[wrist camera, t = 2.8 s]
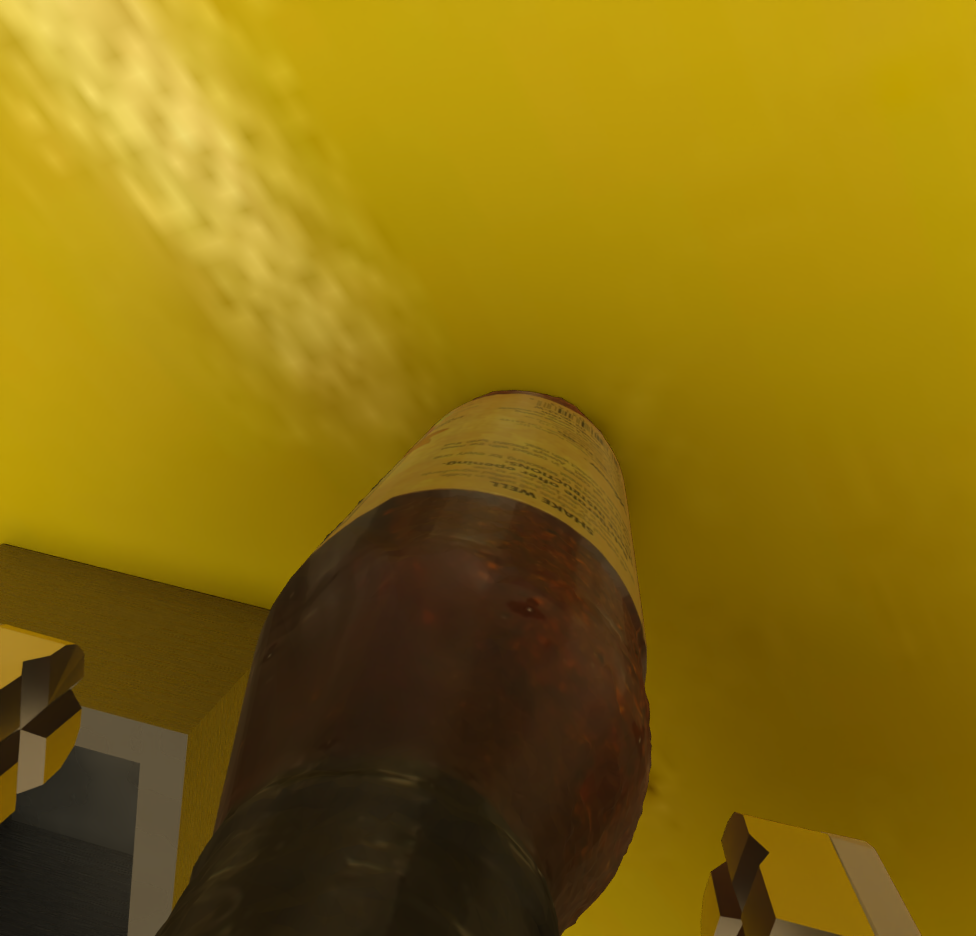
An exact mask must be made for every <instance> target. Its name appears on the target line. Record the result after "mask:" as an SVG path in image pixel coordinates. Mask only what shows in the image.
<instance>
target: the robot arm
mask: <svg viewBox="0 0 976 936" xmlns="http://www.w3.org/2000/svg"><path fill="white" fill-rule="evenodd" d="M84 655H85V653H84V652H83V651H82V649H81V648H80V647H79V646H78V645H77V644H75V643H71V642H68V641H64V640H61V639H57V638H53V637H50V636H46V635H43V634H39V633H35V632H32V631H28V630H25V629H21V628H17V627H14V626H10V625H7V624H5V625H3V624H1V623H0V824H1V823H2V822H3V821H4V820H5V819H6V818H7V817H8V816H9V815H10V814H12V813H13V812H14V811H15V808H16V799H17V794H18V793H21V792H24V791H27V790H29V789H32V788H35V787H38V786H41V785H43V784H44V783H45V782H46V781H48V780H49V779H50V778H51V777H52V776H53V775H54V774H55V773H56V772H57V771H58V770H59V769H60V768H61V766H62V765H63V763H64V762H65V760H66V758H67V757H68V755H69V753H70V752H71V750H72V749H73V747H74V745H75V742H76V739H77V735H78V732H79V729H80V724H81V712H82V708H81V706H80V704H79V702H78V701H77V699H76V697H75V695H74V693H73V691H72V690H71V689H72V688H73V687H74V686H75V685H76V684H77V683H78V682H79V681H80V680H81V679H82V678H83V677H84ZM721 842H722V846H723V850H724V854H725V858H726V862H724V863H723V864H721V865H720V866H718V867H717V868H716V869H714V870H713V871H711V872H710V876H709V879H708V882H707V886H706V889H705V893H704V896H703V905H702V913H701V936H921V934H920V932H919V930H918V928H917V926H916V925H915V923H914V921H913V919H912V917H911V915H910V913H909V912H908V910H907V908H906V906H905V904H904V902H903V900H902V899H901V897H900V895H899V893H898V891H897V889H896V887H895V886H894V884H893V882H892V880H891V878H890V876H889V874H888V873H887V871H886V869H885V867H884V865H883V863H882V861H881V860H880V858H879V856H878V854H877V852H876V850H875V849H874V848H873V847H872V846H871V845H869V844H868V843H867V842H866V841H862V840H858V839H853V838H849V837H844V836H839V835H835V834H830V833H826V832H817V831H813V830H809V829H804V828H800V827H796V826H792V825H788V824H783V823H779V822H775V821H771V820H766V819H762V818H758V817H754V816H750V815H745V814H741V813H737V812H734V813H733V815H732V816H731V818H730V819H729V821H728V822H727V825H726V828H725V831H724V834H723V837H722V839H721Z"/></svg>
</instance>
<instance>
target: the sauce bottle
mask: <svg viewBox="0 0 976 936" xmlns="http://www.w3.org/2000/svg"><path fill="white" fill-rule="evenodd" d="M646 671H647V645H646V637H645V629H644V621H643V613H642V606H641V599H640V592H639V585H638V577H637V570H636V562H635V555H634V548H633V541H632V535H631V527H630V520H629V511H628V505H627V497H626V491H625V485H624V479H623V475H622V472H621V469H620V466H619V463H618V461H617V459H616V457H615V455H614V452H613V451H612V449H611V448H610V446H609V444H608V443H607V441H606V440H605V438H604V437H603V435H602V433H601V432H600V431H599V430H598V429H597V428H596V427H595V426H594V425H593V424H592V423H591V421H590V420H588V419H587V418H586V417H585V415H584V414H583V413H581V412H580V411H579V410H578V409H577V407H575V406H574V405H572V404H570V403H568V402H566V401H565V400H563V399H562V398H558V397H552V396H549V395H544V394H539V393H535V392H529V391H517V390H509V391H494V392H491V393H489V394H486V395H484V396H481V397H478V398H475V399H474V400H472V401H470V402H467V403H465V404H463V405H461V406H459V407H457V408H456V409H454V410H452V411H451V412H449V413H448V414H447V415H445V416H444V417H443V418H442V419H441V420H439V421H438V422H437V423H436V424H435V425H434V426H433V427H432V428H431V429H430V430H429V431H428V432H427V433H426V434H425V435H424V436H423V437H422V438H421V439H420V440H419V441H418V442H417V443H416V444H415V445H414V446H413V447H412V448H411V449H410V450H409V451H408V452H407V454H406V455H405V456H404V457H403V458H402V459H401V460H400V461H399V462H398V463H397V464H396V465H395V466H394V468H393V469H392V470H391V471H390V472H389V473H387V475H386V476H385V477H384V478H382V479H381V480H380V481H379V483H378V484H377V485H376V486H375V487H373V488H372V490H371V491H370V493H369V494H368V495H367V496H366V497H365V498H364V499H362V500H361V501H359V503H358V505H357V506H356V507H355V509H354V510H353V511H352V512H351V513H350V514H349V515H348V516H347V517H346V518H345V519H344V521H343V522H341V523H340V524H339V525H338V526H337V527H336V528H335V530H333V531H332V532H331V533H330V534H328V535H327V537H326V538H325V539H324V541H323V542H322V543H321V544H320V546H319V547H318V548H317V549H316V550H315V551H314V552H313V553H312V554H311V556H310V557H309V558H308V559H307V560H306V561H305V562H304V564H303V565H302V566H301V567H300V568H299V569H298V570H297V572H296V573H295V574H294V575H293V576H292V577H291V579H290V580H289V582H288V583H287V584H286V586H285V587H284V589H283V590H282V592H281V593H280V595H279V596H278V598H277V599H276V601H275V602H274V604H273V606H272V608H271V610H270V612H269V614H268V616H267V619H266V621H265V623H264V625H263V627H262V630H261V633H260V636H259V639H258V642H257V645H256V649H255V653H254V657H253V662H252V666H251V670H250V674H249V679H248V683H247V687H246V692H245V696H244V700H243V704H242V709H241V713H240V717H239V722H238V726H237V730H236V735H235V739H234V744H233V748H232V752H231V757H230V761H229V765H228V770H227V774H226V778H225V783H224V787H223V791H222V796H221V800H220V804H219V809H218V813H217V817H216V822H215V826H214V831H213V835H212V838H211V839H210V841H209V842H208V843H207V845H206V846H205V848H204V850H203V851H202V853H201V854H200V856H199V858H198V860H197V861H196V863H195V865H194V867H193V869H192V873H191V877H190V881H189V884H188V886H187V887H186V889H185V890H184V892H183V893H182V895H181V897H180V898H179V900H178V901H177V903H176V905H175V907H174V908H173V910H172V912H171V914H170V916H169V917H168V919H167V920H166V922H165V923H164V924H163V925H162V927H161V928H160V929H159V931H158V932H157V933H156V935H155V936H561V935H562V933H563V932H564V930H565V929H567V928H568V927H570V926H572V925H574V924H575V923H576V921H577V919H578V917H579V916H580V915H581V914H582V913H583V912H584V911H585V910H586V909H587V908H588V907H589V906H590V905H591V904H592V903H593V902H594V901H595V900H596V899H597V898H598V897H599V896H600V894H601V893H602V892H603V891H604V890H605V889H606V887H607V886H608V884H609V883H610V881H611V880H612V879H613V877H614V876H615V874H616V872H617V870H618V867H619V865H620V863H621V861H622V858H623V856H624V855H625V854H626V853H627V849H628V846H629V844H630V843H631V841H632V838H633V834H634V832H635V830H636V827H637V823H638V820H639V818H640V816H641V814H642V806H643V801H644V798H645V795H646V791H647V786H648V782H649V772H650V768H651V747H652V745H651V732H650V727H649V720H650V710H649V702H648V699H647V696H646V693H645V687H644V685H645V678H646Z"/></svg>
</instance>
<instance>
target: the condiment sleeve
mask: <svg viewBox="0 0 976 936" xmlns="http://www.w3.org/2000/svg"><path fill="white" fill-rule="evenodd" d="M269 612H270V610H267V609H263V608H259V607H255V606H251V605H247V604H243V603H239V602H235V601H231V600H227V599H223V598H219V597H215V596H211V595H207V594H203V593H199V592H195V591H191V590H187V589H183V588H179V587H175V586H171V585H166V584H162V583H158V582H154V581H150V580H146V579H142V578H138V577H134V576H130V575H126V574H122V573H118V572H114V571H110V570H106V569H102V568H98V567H94V566H90V565H86V564H82V563H78V562H74V561H70V560H66V559H62V558H58V557H54V556H50V555H46V554H42V553H38V552H34V551H30V550H26V549H22V548H18V547H14V546H10V545H6V544H1V545H0V623H1V624H3V625H5V624H7V625H10V626H14V627H17V628H21V629H25V630H28V631H32V632H35V633H39V634H43V635H46V636H50V637H53V638H57V639H61V640H64V641H68V642H71V643H75V644H77V645H78V646H79V647H80V648H81V649H82V651H83V652H84V653H85V655H84V677H83V678H82V679H81V680H80V681H79V682H78V683H77V684H76V685H75V686H74V687H73V688H72V689H71V690H72V691H73V693H74V695H75V697H76V699H77V701H78V702H79V704H80V706H81V708H82V712H81V724H80V729H79V732H78V735H77V739H76V742H75V745H74V747H73V749H72V750H71V752H70V753H69V755H68V757H67V758H66V760H65V762H64V763H63V765H62V766H61V768H60V769H59V770H58V771H57V772H56V773H55V774H54V775H53V776H52V777H51V778H50V779H49V780H48V781H46V782H45V783H44V784H43V785H41V786H38V787H35V788H32V789H29V790H27V791H24V792H21V793H18V794H17V799H16V808H15V811H14V812H13V813H12V814H10V815H9V816H8V817H7V818H6V819H5V820H4V821H3V822H2V823H1V824H0V936H155V935H156V933H157V932H158V931H159V929H160V928H161V927H162V925H163V924H164V923H165V922H166V920H167V919H168V917H169V916H170V914H171V912H172V910H173V908H174V907H175V905H176V903H177V901H178V900H179V898H180V897H181V895H182V893H183V892H184V890H185V889H186V887H187V886H188V884H189V881H190V877H191V873H192V869H193V867H194V865H195V863H196V861H197V860H198V858H199V856H200V854H201V853H202V851H203V850H204V848H205V846H206V845H207V843H208V842H209V841H210V839H211V838H212V835H213V831H214V826H215V822H216V817H217V813H218V809H219V804H220V800H221V796H222V791H223V787H224V783H225V778H226V774H227V770H228V765H229V761H230V757H231V752H232V748H233V744H234V739H235V735H236V730H237V726H238V722H239V717H240V713H241V709H242V704H243V700H244V696H245V692H246V687H247V683H248V679H249V674H250V670H251V666H252V662H253V657H254V653H255V649H256V645H257V642H258V639H259V636H260V633H261V630H262V627H263V625H264V623H265V621H266V619H267V616H268V614H269Z"/></svg>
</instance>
